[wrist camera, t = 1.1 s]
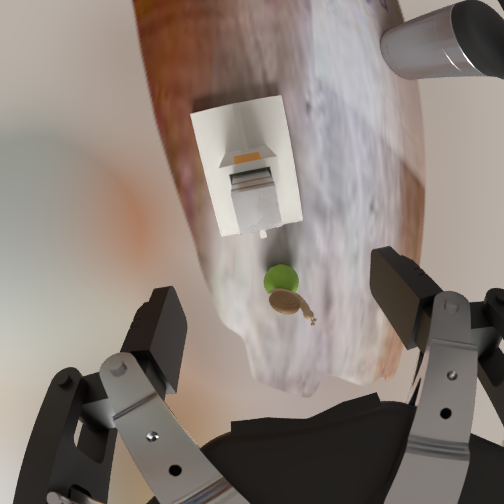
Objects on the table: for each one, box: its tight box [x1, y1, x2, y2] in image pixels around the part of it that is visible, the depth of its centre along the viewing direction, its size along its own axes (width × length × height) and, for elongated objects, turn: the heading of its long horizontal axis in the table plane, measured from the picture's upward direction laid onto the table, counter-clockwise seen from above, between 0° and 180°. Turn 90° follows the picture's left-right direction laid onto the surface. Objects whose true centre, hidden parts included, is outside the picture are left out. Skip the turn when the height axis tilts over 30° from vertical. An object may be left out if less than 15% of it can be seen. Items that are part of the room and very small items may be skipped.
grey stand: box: [190, 95, 303, 239], centre depth 32 cm, size 18×12×14 cm, turn 11°
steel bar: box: [231, 167, 282, 235], centre depth 28 cm, size 3×3×17 cm
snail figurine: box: [264, 264, 316, 326], centre depth 41 cm, size 5×6×12 cm
